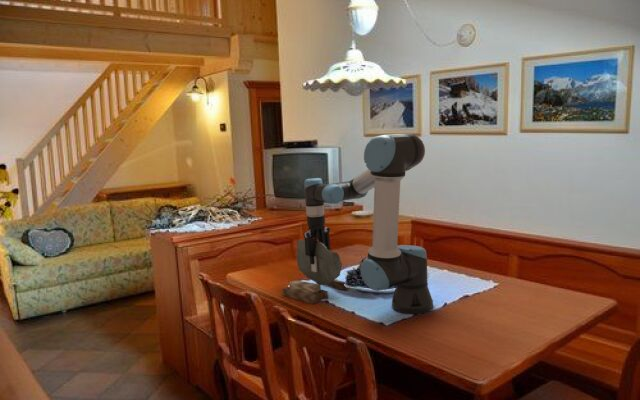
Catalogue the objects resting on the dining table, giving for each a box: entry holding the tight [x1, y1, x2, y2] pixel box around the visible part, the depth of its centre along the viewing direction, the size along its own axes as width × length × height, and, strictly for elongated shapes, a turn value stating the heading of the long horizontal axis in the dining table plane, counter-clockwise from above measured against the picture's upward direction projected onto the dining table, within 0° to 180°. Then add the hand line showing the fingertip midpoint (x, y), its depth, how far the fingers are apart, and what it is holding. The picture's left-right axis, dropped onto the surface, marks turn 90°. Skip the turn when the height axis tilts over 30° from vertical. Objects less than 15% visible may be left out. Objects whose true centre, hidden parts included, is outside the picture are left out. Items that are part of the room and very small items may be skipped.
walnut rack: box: [282, 279, 350, 305], centre depth 204 cm, size 18×21×3 cm
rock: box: [296, 238, 343, 286], centre depth 204 cm, size 27×6×20 cm, turn 42°
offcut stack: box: [289, 279, 322, 295], centre depth 199 cm, size 14×4×6 cm, turn 51°
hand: (319, 269), depth 205 cm, fingers closed on rock, 5 cm apart
